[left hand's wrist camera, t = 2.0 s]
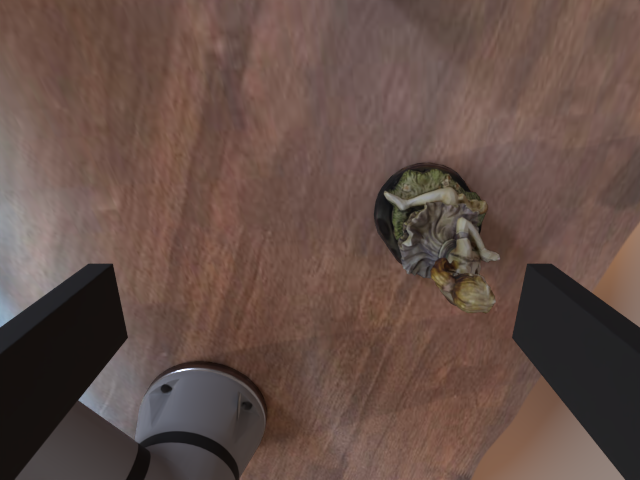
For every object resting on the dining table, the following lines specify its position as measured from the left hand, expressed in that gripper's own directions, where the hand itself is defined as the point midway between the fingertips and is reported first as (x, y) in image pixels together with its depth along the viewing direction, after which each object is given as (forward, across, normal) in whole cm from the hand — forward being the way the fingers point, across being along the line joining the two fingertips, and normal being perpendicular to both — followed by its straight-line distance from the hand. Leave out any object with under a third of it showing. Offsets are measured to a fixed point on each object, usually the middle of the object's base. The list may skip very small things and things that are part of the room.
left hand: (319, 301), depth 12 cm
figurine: (+27, -11, +6) cm, 30 cm away
